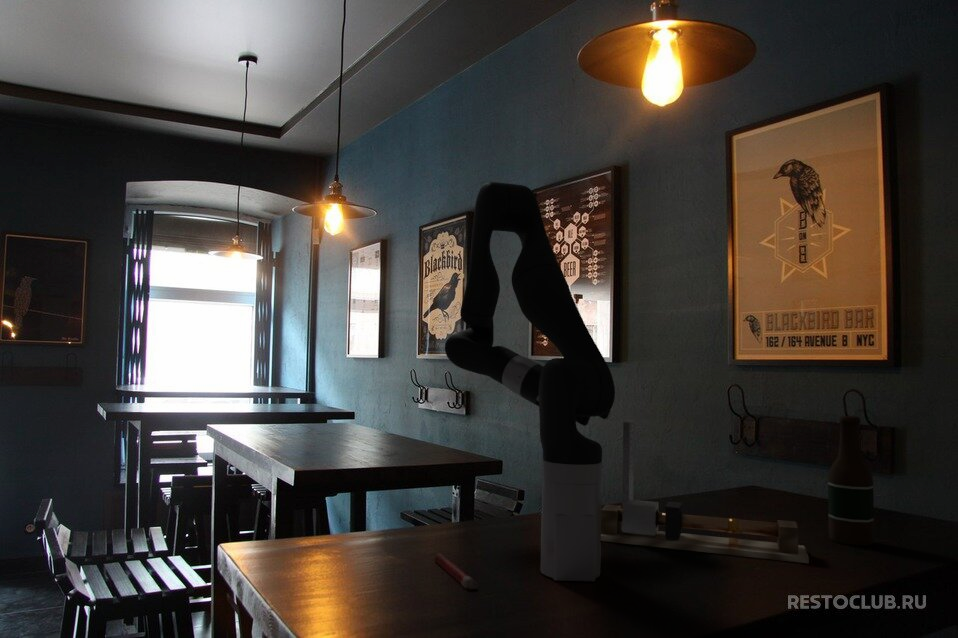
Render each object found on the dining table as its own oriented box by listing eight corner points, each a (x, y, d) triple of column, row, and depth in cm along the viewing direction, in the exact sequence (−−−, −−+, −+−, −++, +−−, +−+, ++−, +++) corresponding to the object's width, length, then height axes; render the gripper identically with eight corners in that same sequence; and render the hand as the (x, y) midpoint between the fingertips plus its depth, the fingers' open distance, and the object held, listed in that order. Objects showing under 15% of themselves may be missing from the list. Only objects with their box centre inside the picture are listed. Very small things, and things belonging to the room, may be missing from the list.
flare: (466, 592, 100) (466, 580, 100) (433, 564, 114) (434, 553, 114) (477, 591, 101) (477, 579, 101) (443, 563, 115) (444, 552, 115)
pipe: (607, 522, 135) (607, 508, 135) (609, 519, 137) (610, 505, 137) (791, 540, 124) (791, 525, 124) (790, 537, 126) (790, 522, 126)
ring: (665, 537, 129) (665, 506, 130) (668, 531, 135) (668, 501, 135) (678, 539, 129) (679, 507, 129) (681, 533, 134) (681, 502, 134)
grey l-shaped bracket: (621, 532, 132) (623, 422, 133) (626, 526, 138) (628, 420, 139) (655, 536, 130) (656, 423, 131) (658, 529, 135) (659, 421, 137)
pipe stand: (590, 539, 132) (591, 510, 133) (599, 530, 141) (600, 502, 141) (808, 563, 120) (808, 530, 120) (804, 551, 128) (804, 520, 128)
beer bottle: (819, 538, 139) (818, 414, 141) (849, 536, 142) (848, 414, 143) (853, 548, 132) (851, 417, 133) (883, 545, 134) (882, 417, 136)
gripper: (517, 366, 135) (588, 405, 127) (553, 360, 147) (621, 395, 138) (504, 401, 137) (574, 441, 129) (542, 392, 149) (607, 429, 140)
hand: (598, 417), depth 134 cm, fingers open, 8 cm apart
